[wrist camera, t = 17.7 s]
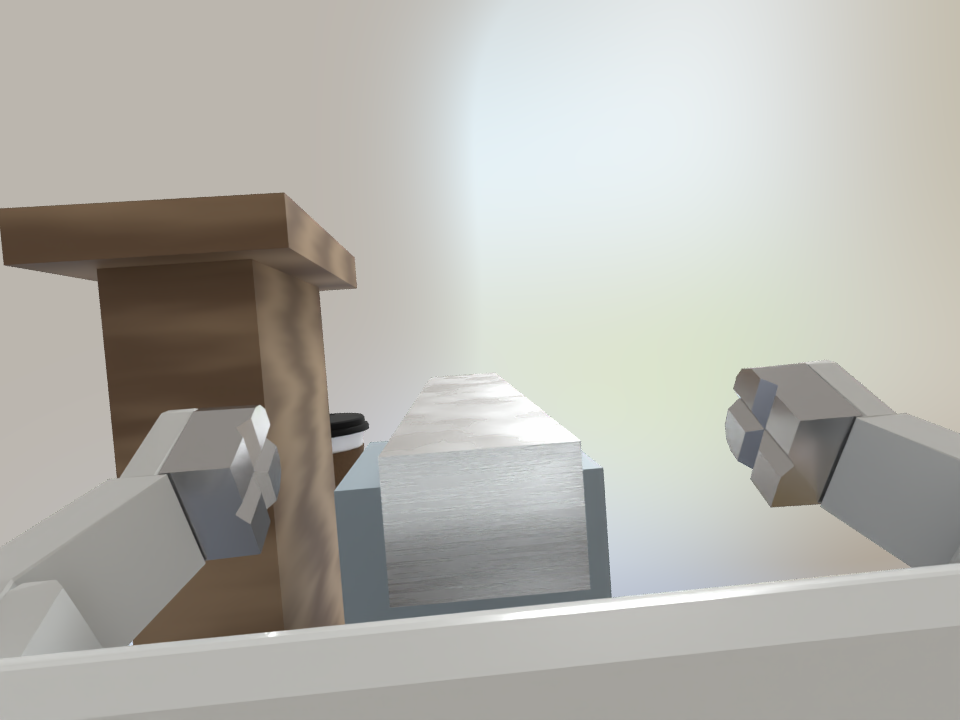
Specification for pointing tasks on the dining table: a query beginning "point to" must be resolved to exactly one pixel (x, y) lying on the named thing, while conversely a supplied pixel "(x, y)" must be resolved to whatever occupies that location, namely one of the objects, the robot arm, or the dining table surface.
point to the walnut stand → (216, 371)
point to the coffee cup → (346, 441)
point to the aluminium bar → (481, 497)
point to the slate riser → (368, 556)
